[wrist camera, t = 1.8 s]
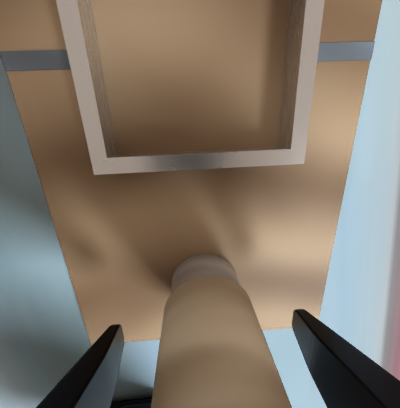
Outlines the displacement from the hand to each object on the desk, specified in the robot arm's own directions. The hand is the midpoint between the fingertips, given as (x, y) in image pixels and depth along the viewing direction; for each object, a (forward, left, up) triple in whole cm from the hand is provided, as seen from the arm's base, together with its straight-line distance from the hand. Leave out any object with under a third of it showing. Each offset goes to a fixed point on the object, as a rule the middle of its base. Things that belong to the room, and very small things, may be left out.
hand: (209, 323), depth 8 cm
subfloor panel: (+6, 0, -3) cm, 7 cm away
